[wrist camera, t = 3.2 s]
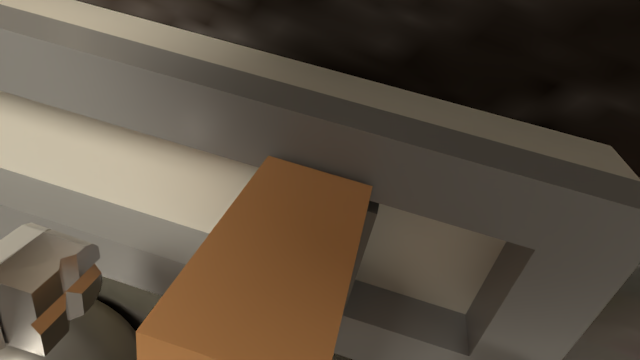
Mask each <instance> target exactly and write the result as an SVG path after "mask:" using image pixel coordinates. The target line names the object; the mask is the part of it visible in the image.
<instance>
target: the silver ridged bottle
mask: <svg viewBox="0 0 640 360" xmlns="http://www.w3.org/2000/svg"><path fill="white" fill-rule="evenodd" d="M0 360H137V350H136V331H135V330H134V329H133V327H132V326H131V325H130V324H129V323H128V322H127V321H126V320H125V319H124V318H123V317H122V316H121V315H120V314H119V313H117V312H116V311H114V310H113V309H112V308H110V307H109V306H107V305H106V304H104V303H102V302H100V301H98V300H95V302H94V304H93V305H92V306H91V308H90V309H89V310H88V311H87V312H86V313H85V314H84V315H82V316H80V317H77V318H75V319H72V320H70V326H69V332H68V333H67V334H66V335H65V336H64V337H63V338H62V339H61V340H60V341H59V342H58V343H57V345H56V346H55V347H54V348H53V349H52V350H51V351H50V352H49V353H48V354H47V355H46V356H45V357H44V356H41V355H38V354H34V353H31V352H28V351H25V350H22V349H19V348H15V347H12V346H9V345H6V347H5V348H3V349H1V350H0Z"/></svg>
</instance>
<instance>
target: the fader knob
mask: <svg viewBox="0 0 640 360" xmlns="http://www.w3.org/2000/svg"><path fill="white" fill-rule="evenodd" d="M372 187H373V186H370V185H367V184H363V183H360V182H357V181H353V180H350V179H346V178H343V177H340V176H336V175H333V174H329V173H326V172H323V171H319V170H316V169H312V168H309V167H306V166H302V165H299V164H295V163H292V162H289V161H285V160H282V159H278V158H275V157H272V156H268V157H267V158H266V159H265V161H264V162H263V163H262V165H261V166H260V167H259V169H258V170H257V171H256V173H255V174H254V175H253V177H252V178H251V179H250V181H249V182H248V183H247V185H246V186H245V187H244V188H243V190H242V191H241V192H240V194H239V195H238V196H237V198H236V199H235V200H234V202H233V203H232V204H231V206H230V207H229V208H228V210H227V211H226V212H225V214H224V215H223V216H222V218H221V219H220V220H219V222H218V223H217V224H216V226H215V227H214V228H213V230H212V231H211V232H210V234H209V235H208V236H207V238H206V239H205V240H204V242H203V243H202V244H201V246H200V247H199V248H198V250H197V251H196V252H195V253H194V255H193V256H192V257H191V259H190V260H189V261H188V263H187V264H186V265H185V267H184V268H183V269H182V271H181V272H180V273H179V275H178V276H177V277H176V279H175V280H174V281H173V283H172V284H171V285H170V287H169V288H168V289H167V291H166V292H165V293H164V295H163V296H162V297H161V299H160V300H159V301H158V303H157V304H156V305H155V307H154V308H153V309H152V311H151V312H150V313H149V314H148V316H147V317H146V318H145V320H144V321H143V322H142V324H141V325H140V326H139V328H138V329H137V330H136V350H137V360H332V358H333V353H334V349H335V345H336V341H337V336H338V332H339V328H340V324H341V319H342V315H343V311H344V308H346V305H347V302H348V299H349V296H350V293H351V290H352V287H353V284H354V281H355V278H356V276H357V273H358V270H359V267H360V264H361V261H362V258H363V255H364V252H365V249H366V246H367V243H368V240H369V237H370V234H371V231H372V228H373V225H374V222H375V219H376V217H377V213H378V208H379V203H376V202H373V201H369V200H370V196H371V192H372Z"/></svg>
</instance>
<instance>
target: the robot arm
mask: <svg viewBox="0 0 640 360" xmlns="http://www.w3.org/2000/svg"><path fill="white" fill-rule="evenodd" d="M99 259H100V252H99V246H97V245H95V244H93V243H90V242H87V241H84V240H81V239H78V238H75V237H73V236H70V235H67V234H64V233H61V232H58V231H55V230H53V229H49V228H46V227H43V226H40V225H37V224H34V223H28V224H24V225H21V226H20V227H18V228H17V229H15V230H14V231H13V232H11V233H10V234H8V235H7V236H5V237H4V238H2V239H1V240H0V350H1V349H3V348H5V347H6V345H9V346H12V347H15V348H19V349H22V350H25V351H28V352H31V353H34V354H38V355H41V356H44V357H45V356H46V355H47V354H48V353H49V352H50V351H51V350H52V349H53V348H54V347H55V346H56V345H57V343H58V342H59V341H60V340H61V339H62V338H63V337H64V336H65V335H66V334H67V333H68V332H69V326H70V320H72V319H75V318H77V317H80V316H82V315H84V314H85V313H86V312H87V311H88V310H89V309H90V308H91V306H92V305H93V304H94V302H95V300H96V299H97V297H98V295H99V293H100V290H101V286H102V273H101V271H100V270H99V269H98V267H97V266H96V265H95V263H96V262H97V261H98V260H99Z"/></svg>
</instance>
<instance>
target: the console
mask: <svg viewBox="0 0 640 360" xmlns="http://www.w3.org/2000/svg"><path fill="white" fill-rule="evenodd" d="M268 156H272V157H275V158H278V159H282V160H285V161H289V162H292V163H295V164H299V165H302V166H306V167H309V168H312V169H316V170H319V171H323V172H326V173H329V174H333V175H336V176H340V177H343V178H346V179H350V180H353V181H357V182H360V183H363V184H367V185H370V186H373V187H372V192H371V196H370V200H369V201H373V202H376V203H379V208H378V213H377V217H376V219H375V222H374V225H373V228H372V231H371V234H370V237H369V240H368V243H367V246H366V249H365V252H364V255H363V258H362V261H361V264H360V267H359V270H358V273H357V276H356V278H355V281H354V284H353V287H352V290H351V293H350V296H349V299H348V302H347V305H346V308H344V311H343V315H342V319H341V324H340V328H339V332H338V336H337V341H336V345H335V349H334V353H335V354H338V355H341V356H344V357H347V358H350V359H353V360H562V359H563V358H564V357H565V355H566V354H567V353H568V352H569V351H570V349H571V348H572V347H573V346H574V344H575V343H576V342H577V341H578V339H579V338H580V337H581V336H582V334H583V333H584V332H585V331H586V329H587V328H588V327H589V326H590V324H591V323H592V322H593V321H594V320H595V318H596V317H597V316H598V315H599V313H600V312H601V311H602V310H603V308H604V307H605V306H606V305H607V303H608V302H609V301H610V300H611V298H612V297H613V296H614V295H615V293H616V292H617V291H618V290H619V289H620V287H621V286H622V285H623V284H624V282H625V281H626V280H627V279H628V277H629V276H630V275H631V274H632V272H633V271H634V270H635V269H636V267H637V266H638V265H639V264H640V178H639V177H638V176H637V175H636V174H635V173H634V172H633V170H632V169H631V168H630V167H629V166H628V165H627V164H626V162H625V161H624V160H623V159H622V158H621V157H620V156H619V154H618V153H617V152H616V151H615V150H614V149H613V148H612V146H610V145H606V144H603V143H599V142H595V141H591V140H588V139H584V138H580V137H577V136H573V135H569V134H566V133H562V132H558V131H555V130H551V129H547V128H544V127H540V126H536V125H533V124H529V123H525V122H521V121H518V120H514V119H510V118H507V117H503V116H499V115H496V114H492V113H488V112H485V111H481V110H477V109H474V108H470V107H466V106H462V105H459V104H455V103H451V102H448V101H444V100H440V99H437V98H433V97H429V96H426V95H422V94H418V93H415V92H411V91H407V90H404V89H400V88H396V87H392V86H389V85H385V84H381V83H378V82H374V81H370V80H367V79H363V78H359V77H356V76H352V75H348V74H345V73H341V72H337V71H334V70H330V69H326V68H322V67H319V66H315V65H311V64H308V63H304V62H300V61H297V60H293V59H289V58H286V57H282V56H278V55H275V54H271V53H267V52H264V51H260V50H256V49H252V48H249V47H245V46H241V45H238V44H234V43H230V42H227V41H223V40H219V39H216V38H212V37H208V36H205V35H201V34H197V33H193V32H190V31H186V30H182V29H179V28H175V27H171V26H168V25H164V24H160V23H157V22H153V21H149V20H146V19H142V18H138V17H135V16H131V15H127V14H123V13H120V12H116V11H112V10H109V9H105V8H101V7H98V6H94V5H90V4H87V3H83V2H79V1H76V0H0V240H1V239H2V238H4V237H5V236H7V235H8V234H10V233H11V232H13V231H14V230H15V229H17V228H18V227H20V226H21V225H24V224H28V223H34V224H37V225H40V226H43V227H46V228H49V229H53V230H55V231H58V232H61V233H64V234H67V235H70V236H73V237H75V238H78V239H81V240H84V241H87V242H90V243H93V244H95V245H97V246H99V252H100V259H99V260H98V261H97V262H96V263H95V265H96V266H97V267H98V269H99V270H100V271H101V273H102V276H104V277H107V278H110V279H113V280H116V281H119V282H122V283H125V284H128V285H131V286H134V287H137V288H140V289H143V290H146V291H149V292H152V293H155V294H158V295H161V296H163V295H164V293H165V292H166V291H167V289H168V288H169V287H170V285H171V284H172V283H173V281H174V280H175V279H176V277H177V276H178V275H179V273H180V272H181V271H182V269H183V268H184V267H185V265H186V264H187V263H188V261H189V260H190V259H191V257H192V256H193V255H194V253H195V252H196V251H197V250H198V248H199V247H200V246H201V244H202V243H203V242H204V240H205V239H206V238H207V236H208V235H209V234H210V232H211V231H212V230H213V228H214V227H215V226H216V224H217V223H218V222H219V220H220V219H221V218H222V216H223V215H224V214H225V212H226V211H227V210H228V208H229V207H230V206H231V204H232V203H233V202H234V200H235V199H236V198H237V196H238V195H239V194H240V192H241V191H242V190H243V188H244V187H245V186H246V185H247V183H248V182H249V181H250V179H251V178H252V177H253V175H254V174H255V173H256V171H257V170H258V169H259V167H260V166H261V165H262V163H263V162H264V161H265V159H266V158H267V157H268Z"/></svg>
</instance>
